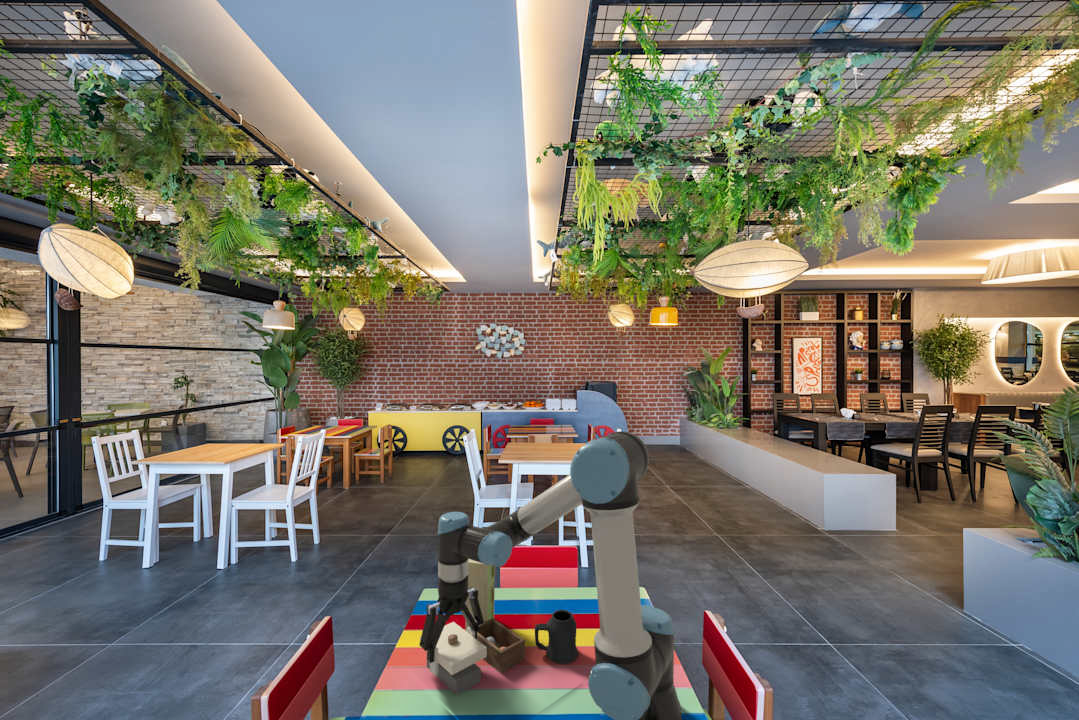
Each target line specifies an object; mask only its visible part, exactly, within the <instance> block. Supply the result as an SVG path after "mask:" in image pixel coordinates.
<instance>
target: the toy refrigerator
mask: <svg viewBox="0 0 1079 720" xmlns="http://www.w3.org/2000/svg"><path fill="white" fill-rule="evenodd" d="M468 571H469V573H468V590H469V589H470V587H473V588H474V589H476V590H477V591H478V601H479V605H480V609H481V612H482V616H483V620H484V622H485V621H488V620H490V619H492V618H493V619H495V593H496V591H495V576H496V566H492V565H491V566H490V565H485V564H483V563H480V562H477V561H474V560H471V559H468ZM465 604H466V606H467V608H468V609H469V612H470V613H471V615H472V617H473V618H474V615H473V611H472V608H471V604H470V600H469V597H468V598H467V600H466V602H465ZM464 619H465V618H464ZM474 620H475V619H474ZM464 622H465V624H464V625H465V627H464V630H465V631H467V627H470V626H469V624H468V622H467V621H466V619H465V620H464Z"/></svg>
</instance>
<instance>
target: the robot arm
mask: <svg viewBox="0 0 1079 720" xmlns="http://www.w3.org/2000/svg"><path fill="white" fill-rule="evenodd" d="M649 464H650V453H649V450H648V448H647V445H646V444H645V443H644V441H643V440H642V439H641V438H640V437H639V436H637V435H636V434H635V433H631V432H629V431H615V432H612V433H609V434H607V435H604V436H602V437H599V438H598V437H597V438H593V439H592V440H590V441H587V442H586V443H585V444H584V445H582V446H581V447H580V448H579V449H578V450H577V452H575V454H574V456H573V458H572V459H571V463H570V468H569V469H570V470H569V474H568V475H566V476H565V477H564V478H562V479H560V480H559V481H558V482H557V483H554V484H553V485H551V487H549V488H548V489H546V490H545V491H543V492H542V493H540V494H539V495H537V496H536V497H534V498H532V499H531V500H530V501H528V502H527V503H525V504H524V505H522V506H520V508H518V509H516V510H515V511H514V512H511V513H510V514H509V515H506V517H504V518H501V519H499V520H498V521H496V522H494V523H492V524H491V525H489V526H486V527H485V528H484V527H479V526H474V525H471V524H470V519H469V518H470V517H469V516H468V514H466V513H465V512H461V511H449V512H445V513H444V514H442V515H441V516H440V517H439V519H438V526H437V543H438V544H437V545H438V546H437V549H438V551H437V552H438V553H437V554H438V555H437V557H438V559H437V560H438V561H437V562H438V563H437V569H438V571H437V576H438V578H437V593H438V594H437V595H438V599H437V602H436V603H433V604H431V603H428V604H427V605H426V615H425V620H424V624H423V628H422V633H421V640H419V647H420V648H422V649H423V650H424V651H425V652H426V651H427V652H426V661H427V660H428V661H429V662H430V669H429V671H430V673H431V674H433V676H435V677H437V675H438V648H437V647H436V645H437V643H438V640H439V638H440V636H441V633H442V631H443V628H444V626H445V625H447V624H446V623H447V622H448V621H449V620H450V618H451V616H454V615H455V614H458V613H461V615H462V616H463V618H464V619H466V621H467V622H468V624H469V626H470V627H467V630H466V632H467V633H469V634H470V635H471V636H473V637H474V638H475V639H476V640H477V631H479V629H480V627H479V625H480V624H481V625H482V624H483V623H484V620H483V616H482V612H481V609H480V605H479V601H478V591H477V590H476V589H474V588H473V587H470V589H469V590H468V573H469V571H468V559H471V560H474V561H477V562H480V563H483V564H485V565H490V566H491V565H492V566H495V567H498V568H499V567H503V566H505V565H506V563H507V562H508V560H509V559H510V558H511V555H512V552H513V548H515V547H516V546H518V545H520V544H522V543H523V542H525V541H527V540H529V539H530V538H531V537H533V536H534V535H536V534H538V533H539V532H540V531H542V530H543V529H545V528H547V527H549V526H550V525H551V524H554V523H555V522H556V521H558V520H559V519H562V517H565V516H566V515H567V514H569V513H570V512H572V511H574V510H575V509H577V508H578V507H580V506H582V507H583V509H585V510H586V511H587V512H588V513H589V514H590V521H591V523H590V524H591V534H592V535H591V536H592V546H593V560H594V570H595V582H596V583H595V584H596V593H597V602H598V605H597V606H598V614H599V615H598V616H599V617H598V618H599V629H598V630H597V632H596V633H595V635H594V638H593V644H594V645H593V646H594V647H593V648H594V656H595V657H594V658H595V663H594V664H595V665H593V667H592V668H591V669H590V673H589V676H588V681H587V684H588V685H587V687H588V689H589V693H590V696H591V698H592V700H593V702H594V703H595V704H596V705H597V707H598V708H600V709H601V711H602V713H604V714H605V715H606V716H607V717H610V718H611V719H612V720H682V706H681V703H680V700H679V697H678V694H677V690H676V687H675V682H674V671H675V668H674V667H675V665H674V664H675V654H674V653H675V634H676V633H675V626H674V624H675V623H674V620H673V618H672V617H671V616H670V614H669V613H667V612H666V611H664V610H663V609H660V608H658V607H654V606H651V605H645V604H641V603H642V602H641V591H640V590H641V589H640V581H639V568H638V559H637V558H638V557H637V547H636V535H635V525H634V510H635V509H636V508H637V507H638V506H639V504H640V495H639V484H638V481H640V480H641V479H642V478H644V477H643V476H644V475H645V474H646V473H647V470H648V468H649ZM468 597H469V600H470V604H471V608H472V611H473V615H474V618H473V617H472V615H471V613H470V612H469V609H468V608H467V606H466V604H465V603H466V600H467V598H468ZM474 619H475V620H474Z"/></svg>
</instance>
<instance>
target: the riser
mask: <svg viewBox="0 0 1079 720" xmlns="http://www.w3.org/2000/svg"><path fill="white" fill-rule="evenodd" d="M426 667H427V669H429V670H430V662H429V661H428V660H427V659H426ZM481 676H482V669H481V667H480V666H479V665H477V664H476V663H474V664H472V665H470V666H468V667H467V668H465V669H463V670H461V671H459V672H457V673H455V674H453V675H451V674H450V673H449V672H448V671H447V670H446V669H444V668H443V667H442V666H441V665H440V664H439V663H438V675H437V676H436V677H437V678H438V679H439V680H440V681H441V682H442V683H443V684H444V685H445V686H446V687H448V689H449V690H450V691H451V692H452V693H453V694H455V696H458V695H460V694H461V693H463V692H466V691H467V690H469V689H471V688H472V687H474V686H476V685H477V684H480V683H481V681H482V680H481V678H482V677H481Z"/></svg>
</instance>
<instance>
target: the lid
mask: <svg viewBox="0 0 1079 720" xmlns="http://www.w3.org/2000/svg"><path fill="white" fill-rule="evenodd" d="M421 636H422V635H421ZM421 636H419V639H420V640H421ZM420 640H419V641H420ZM436 647H437V648H438V663H439V664H440V665H441V666H442V667H443V668H444V669H446V670H447V671H448V672H449V673H450V674H451V675H453V674H455V673H457V672H459V671H461V670H463V669H465V668H467V667H468V666H470V665H472V664H474V663H475V664H476V663H478V662H479V661H481V660H482V661H483V660H484V658H485V657H487V647H485V646H484V645H483V644H482V643H480V642H479V641H478V640H476V639H475V638H474V637H473V636H471V635H470V634H469V633H467V630H465V628H463V627H462V626H460V625H459V624H457V623H456V622H455V621H452V622H449V623H447V624H445V626H444V628H443V631H442V633H441V636H440V638H439V640H438V643H437V645H436ZM425 652H426V653H427V651H425Z"/></svg>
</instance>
